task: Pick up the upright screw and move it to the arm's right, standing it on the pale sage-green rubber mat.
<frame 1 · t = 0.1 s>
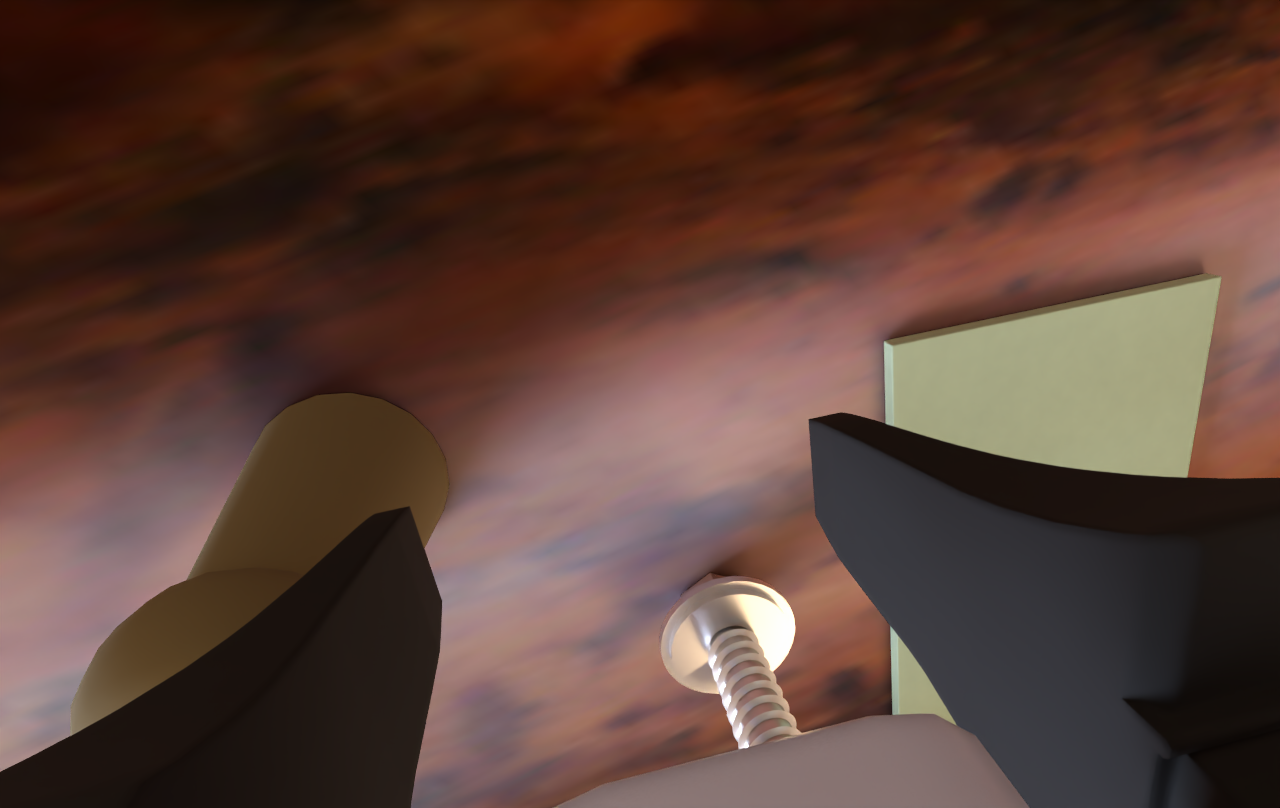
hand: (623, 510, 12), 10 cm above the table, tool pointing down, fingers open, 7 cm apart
olive pawn: (353, 478, 22), on the table
screw: (712, 598, 26), on the table
mat: (1030, 547, 27), on the table
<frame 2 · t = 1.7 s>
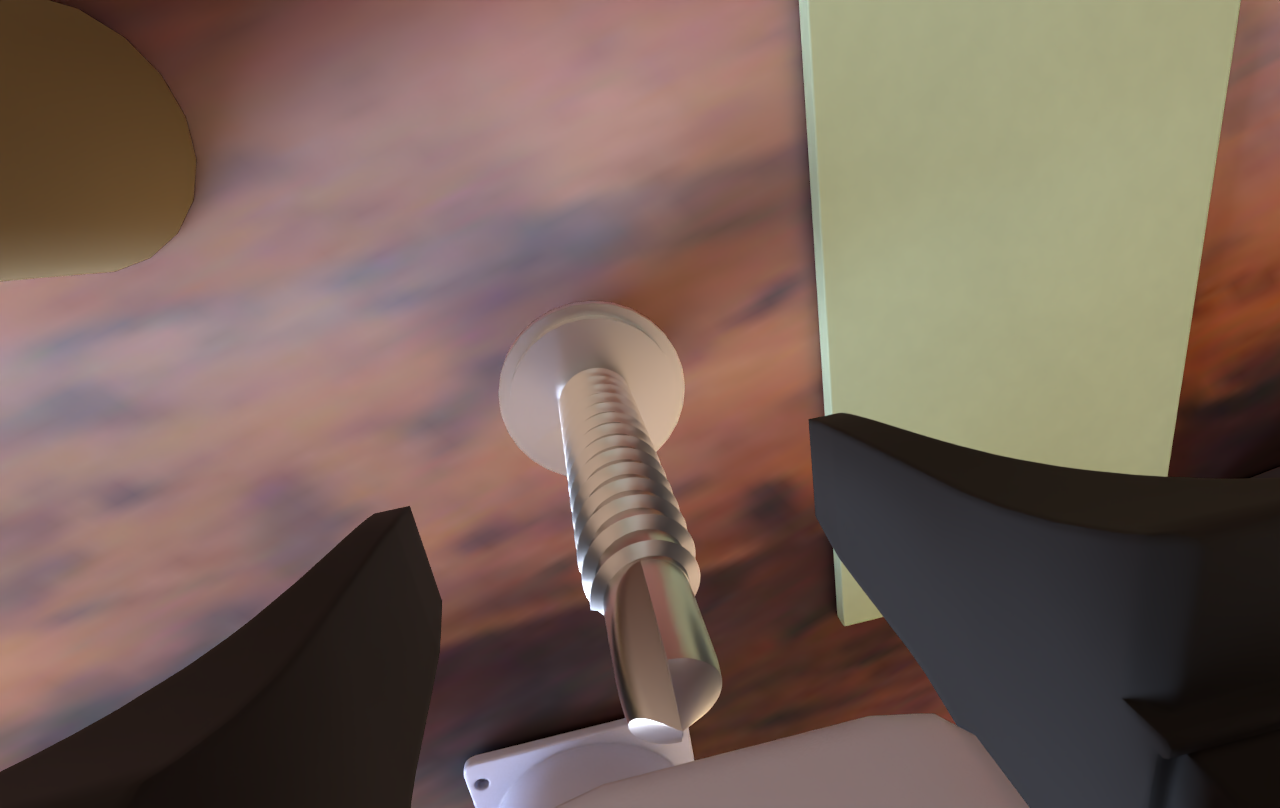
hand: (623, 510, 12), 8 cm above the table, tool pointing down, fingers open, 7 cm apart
olive pawn: (57, 143, 16), on the table
screw: (586, 367, 20), on the table
mat: (1004, 315, 21), on the table
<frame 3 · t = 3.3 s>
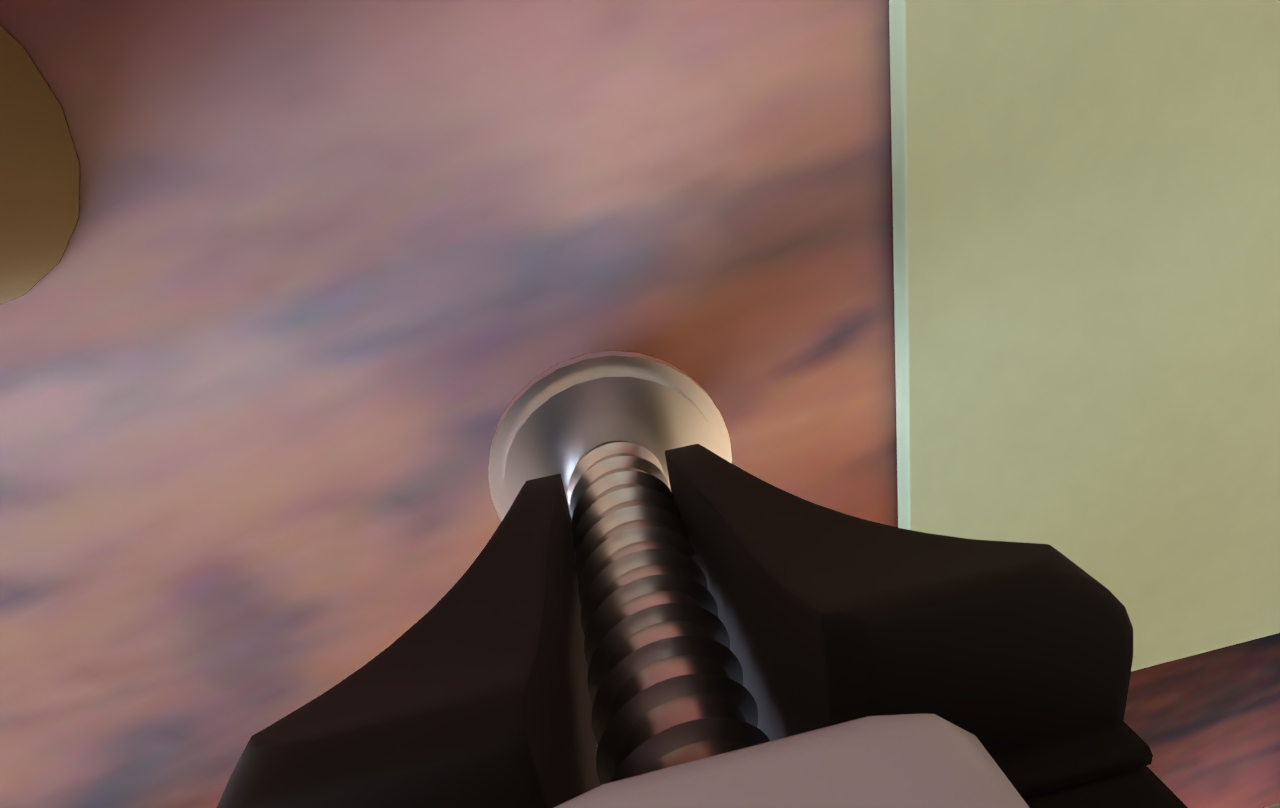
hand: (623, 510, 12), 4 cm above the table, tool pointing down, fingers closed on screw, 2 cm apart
screw: (601, 427, 16), on the table, touching gripper
mat: (1123, 357, 17), on the table
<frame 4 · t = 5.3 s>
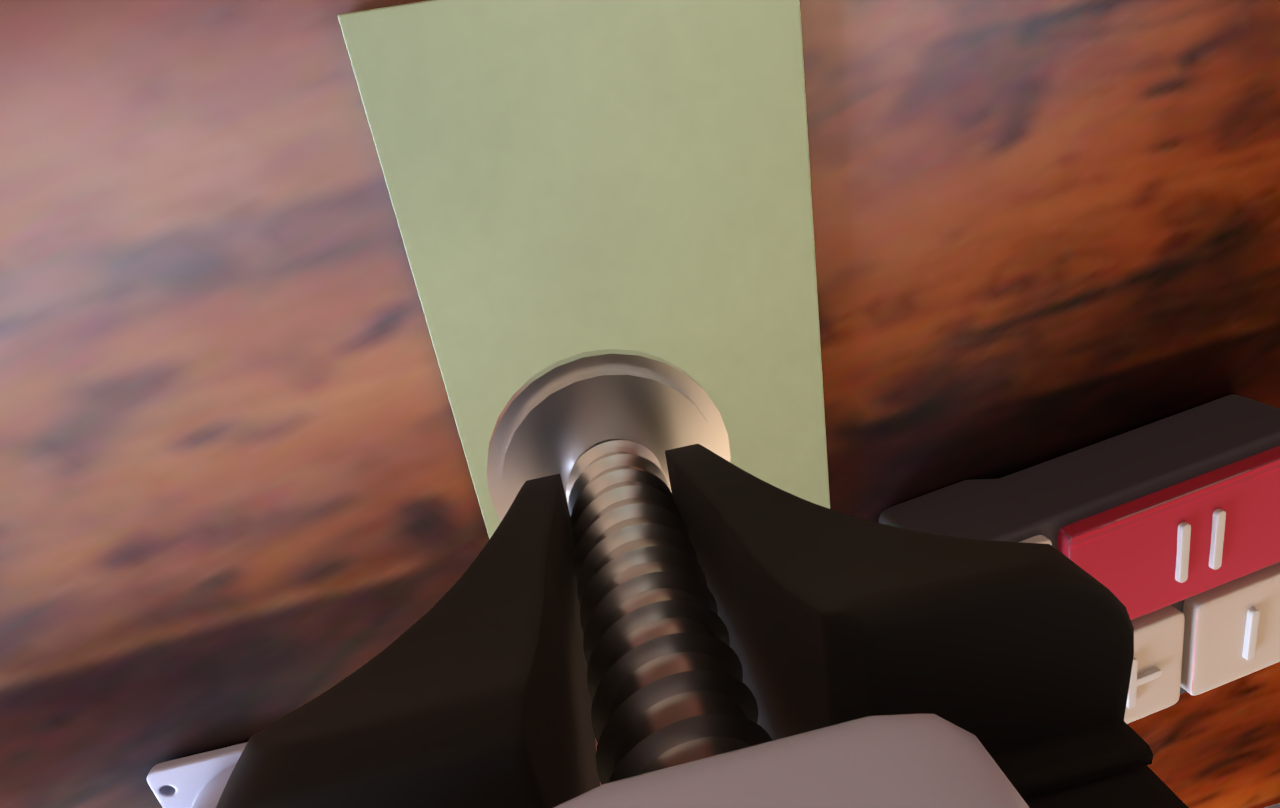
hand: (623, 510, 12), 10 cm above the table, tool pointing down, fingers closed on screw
screw: (599, 425, 16), point 7 cm above the table, touching gripper
calculator: (1058, 558, 28), on the table
mat: (633, 340, 22), on the table
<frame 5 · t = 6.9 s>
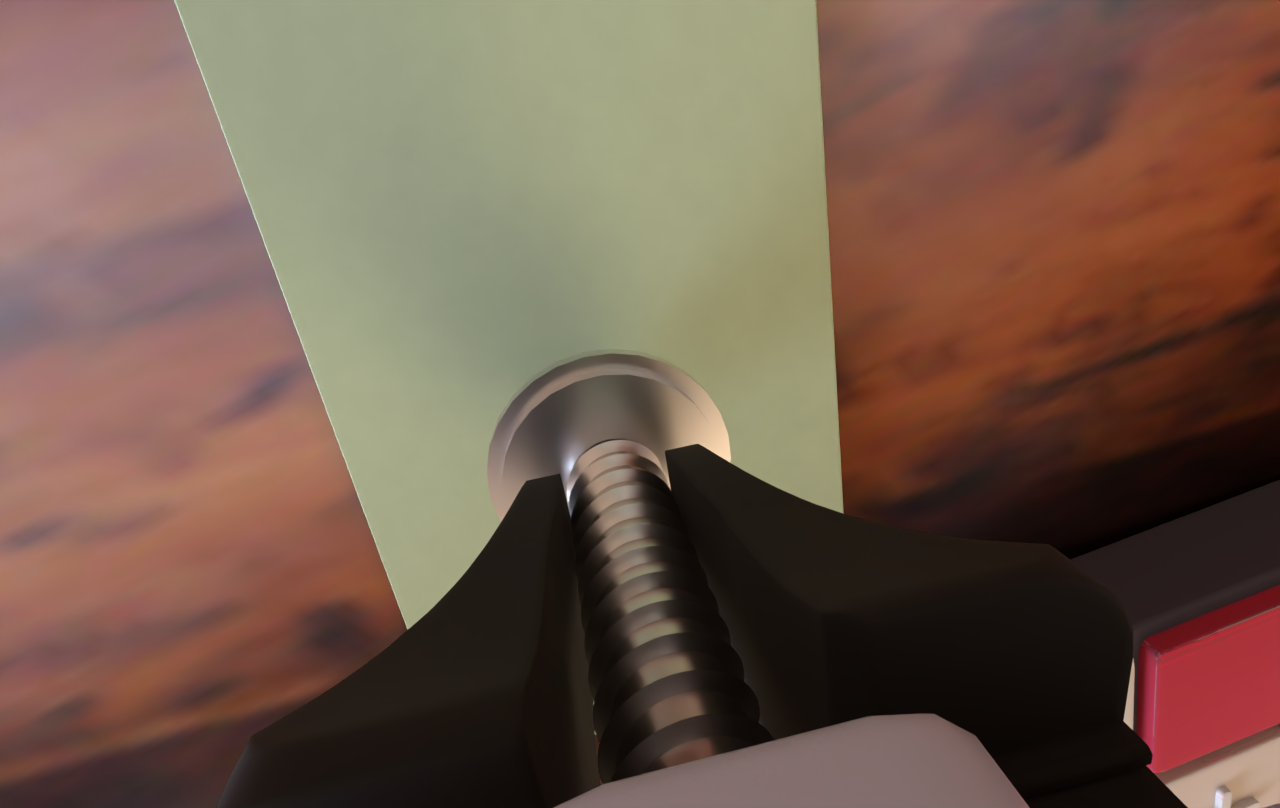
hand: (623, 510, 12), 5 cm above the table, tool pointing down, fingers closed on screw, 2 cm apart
screw: (599, 425, 16), point 1 cm above the table, touching gripper
calculator: (1122, 650, 23), on the table
mat: (596, 404, 17), on the table
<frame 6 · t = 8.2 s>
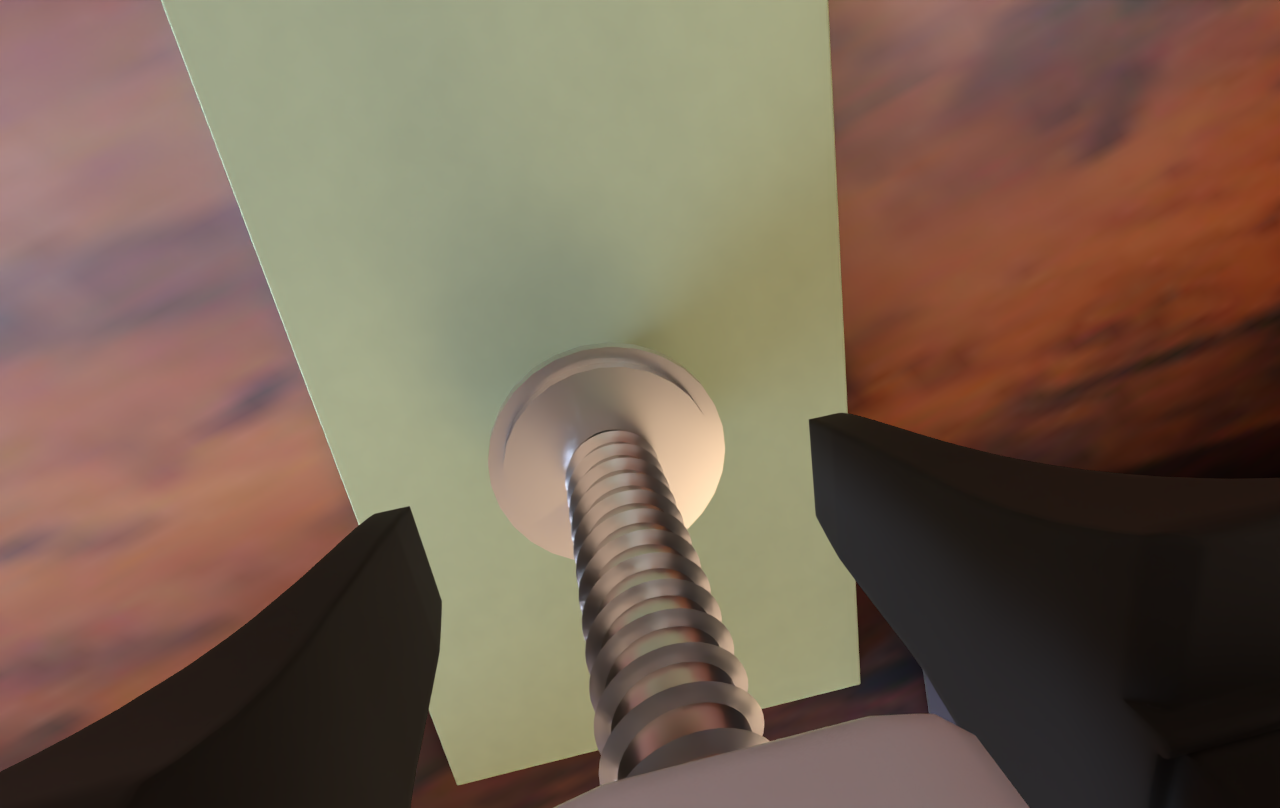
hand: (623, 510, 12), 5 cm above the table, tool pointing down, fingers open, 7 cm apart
screw: (598, 418, 16), resting on mat
calculator: (1136, 662, 23), on the table
mat: (598, 413, 16), on the table
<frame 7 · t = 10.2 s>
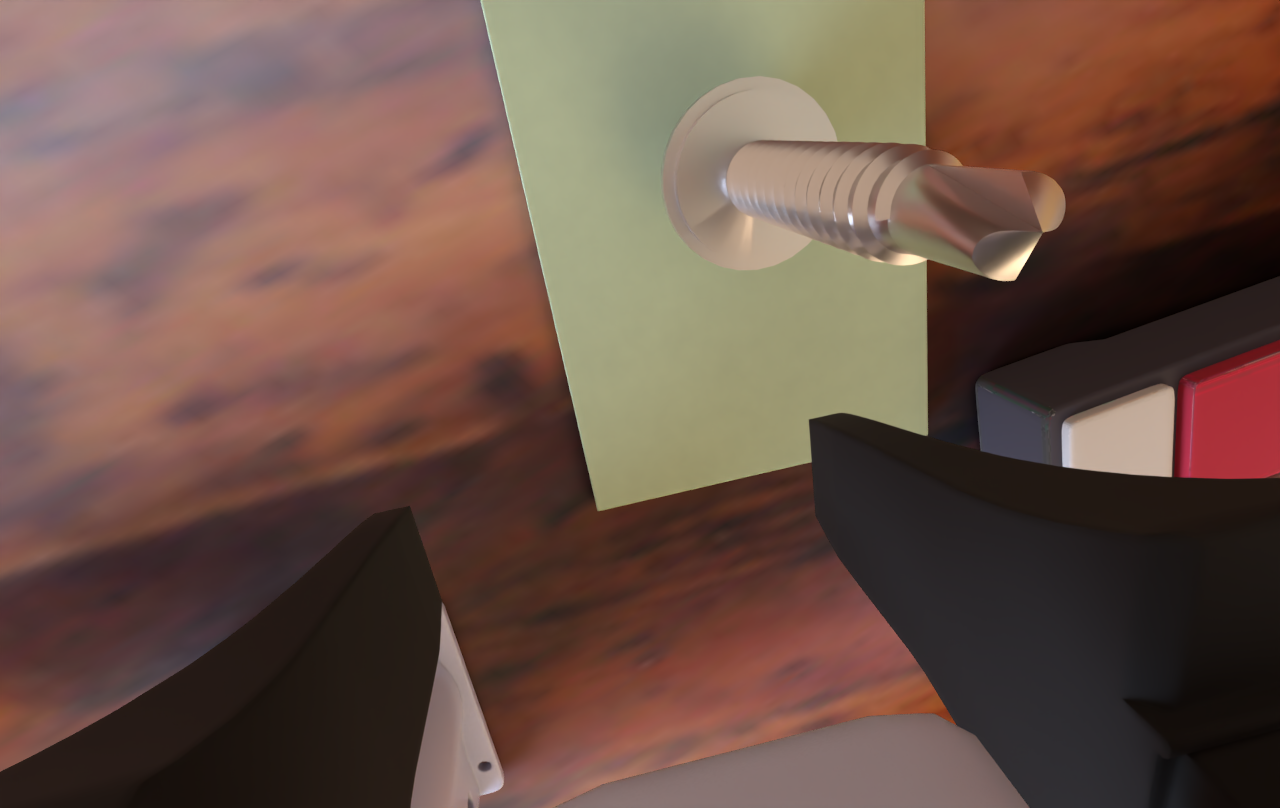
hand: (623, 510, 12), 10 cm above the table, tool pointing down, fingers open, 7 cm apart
screw: (729, 173, 20), resting on mat
calculator: (1157, 438, 27), on the table
mat: (727, 174, 20), on the table
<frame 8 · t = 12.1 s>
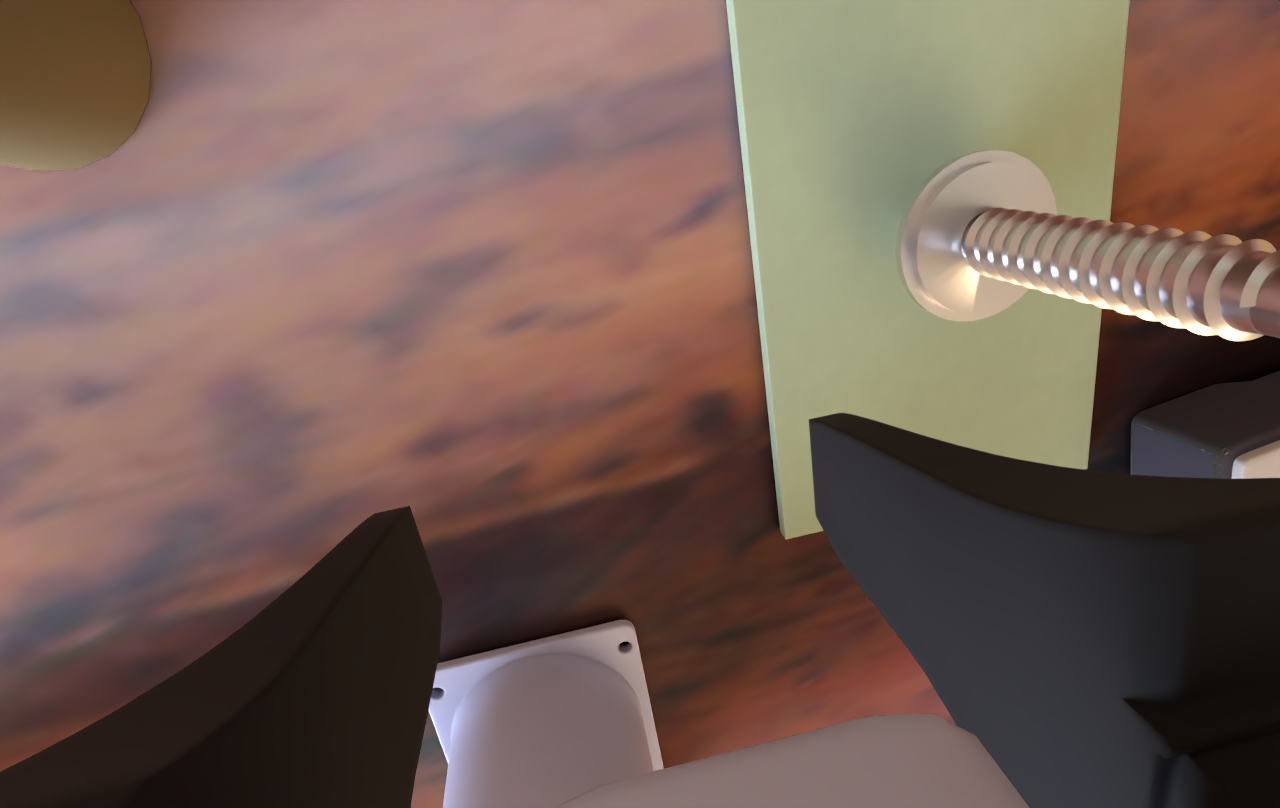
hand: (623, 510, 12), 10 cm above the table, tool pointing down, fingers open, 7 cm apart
olive pawn: (19, 43, 17), on the table
screw: (935, 230, 22), resting on mat
mat: (929, 230, 22), on the table
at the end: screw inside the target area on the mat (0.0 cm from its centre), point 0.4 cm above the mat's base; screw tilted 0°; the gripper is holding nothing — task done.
